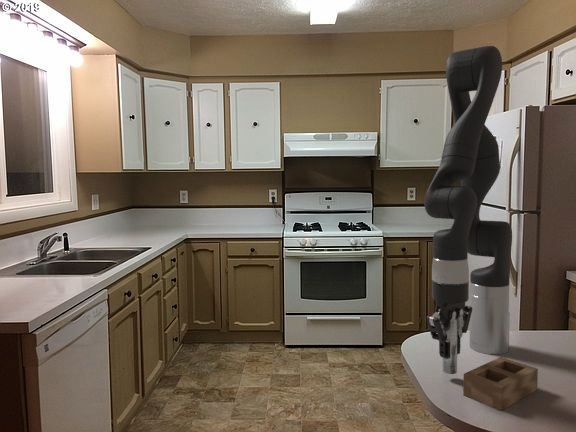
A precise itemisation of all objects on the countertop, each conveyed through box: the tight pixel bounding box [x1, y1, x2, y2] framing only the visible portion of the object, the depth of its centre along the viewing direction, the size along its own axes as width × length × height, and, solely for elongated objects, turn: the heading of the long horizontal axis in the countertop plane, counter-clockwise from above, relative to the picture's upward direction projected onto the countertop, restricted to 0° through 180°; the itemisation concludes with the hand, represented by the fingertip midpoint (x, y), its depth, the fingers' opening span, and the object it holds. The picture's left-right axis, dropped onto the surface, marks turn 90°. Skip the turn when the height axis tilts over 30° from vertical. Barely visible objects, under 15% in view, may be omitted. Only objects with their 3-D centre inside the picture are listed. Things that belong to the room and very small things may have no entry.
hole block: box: [462, 356, 539, 411], centre depth 94 cm, size 14×8×4 cm, turn 126°
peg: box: [442, 319, 458, 375], centre depth 100 cm, size 3×3×12 cm
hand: (449, 355), depth 100 cm, fingers closed on peg, 3 cm apart
